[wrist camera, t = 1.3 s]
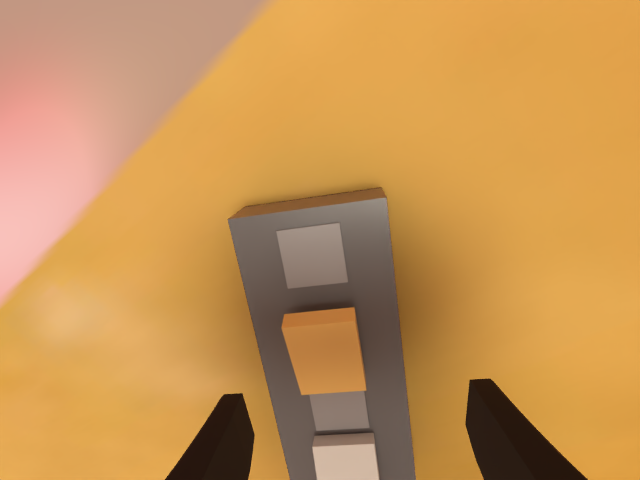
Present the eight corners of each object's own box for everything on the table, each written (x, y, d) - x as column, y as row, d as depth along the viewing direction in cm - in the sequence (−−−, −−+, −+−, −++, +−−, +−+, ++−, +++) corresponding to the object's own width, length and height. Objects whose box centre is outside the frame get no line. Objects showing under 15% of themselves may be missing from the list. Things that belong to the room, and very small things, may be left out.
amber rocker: (365, 375, 20) (366, 390, 19) (303, 379, 20) (301, 395, 20) (354, 307, 18) (355, 320, 17) (284, 314, 18) (281, 327, 17)
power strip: (410, 460, 25) (418, 505, 22) (302, 465, 26) (296, 508, 23) (381, 187, 20) (386, 198, 17) (244, 206, 21) (226, 220, 18)
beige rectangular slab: (383, 509, 22) (384, 524, 21) (325, 511, 22) (323, 525, 21) (373, 432, 21) (374, 443, 20) (314, 435, 22) (312, 446, 21)
